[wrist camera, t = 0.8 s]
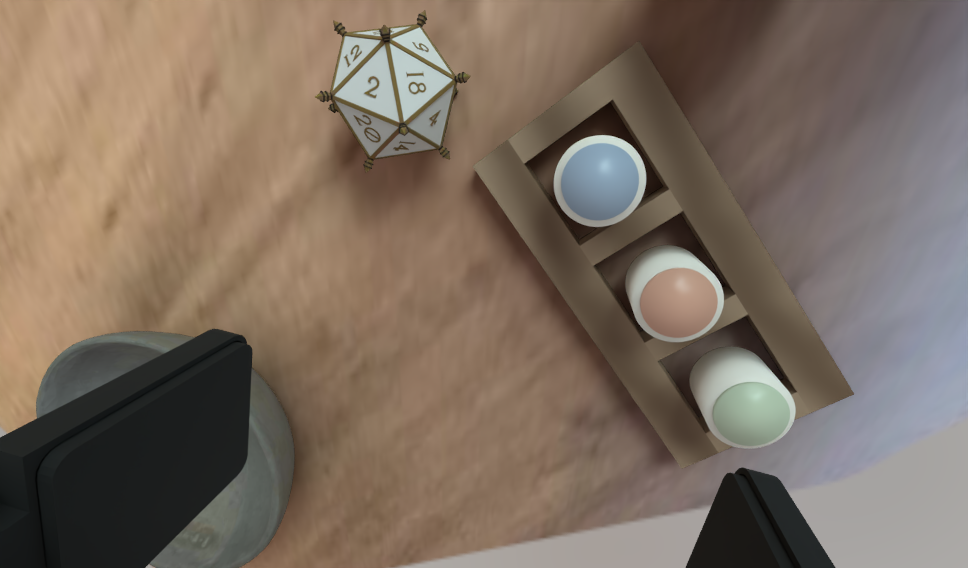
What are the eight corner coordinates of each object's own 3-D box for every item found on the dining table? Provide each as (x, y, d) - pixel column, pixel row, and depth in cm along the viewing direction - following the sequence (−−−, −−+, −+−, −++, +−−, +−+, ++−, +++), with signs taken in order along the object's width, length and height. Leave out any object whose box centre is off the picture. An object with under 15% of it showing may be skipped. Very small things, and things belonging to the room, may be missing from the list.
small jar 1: (608, 118, 28) (615, 115, 24) (651, 186, 29) (665, 194, 25) (541, 167, 30) (535, 171, 25) (583, 230, 30) (585, 244, 26)
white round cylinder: (745, 333, 30) (771, 363, 26) (782, 391, 31) (813, 430, 27) (675, 368, 32) (690, 401, 28) (712, 423, 32) (732, 464, 28)
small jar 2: (679, 230, 29) (696, 244, 25) (719, 292, 30) (742, 317, 26) (610, 271, 31) (616, 291, 27) (650, 330, 31) (661, 358, 27)
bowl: (320, 535, 45) (269, 614, 38) (126, 473, 48) (42, 536, 40) (343, 337, 39) (287, 385, 31) (116, 275, 41) (12, 306, 33)
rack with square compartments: (634, 47, 29) (639, 40, 27) (838, 379, 32) (854, 394, 31) (478, 164, 33) (472, 166, 31) (676, 451, 36) (681, 468, 34)
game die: (454, 116, 36) (485, 191, 29) (339, 132, 34) (343, 215, 28) (442, -23, 29) (479, 33, 22) (300, -8, 28) (294, 56, 21)
